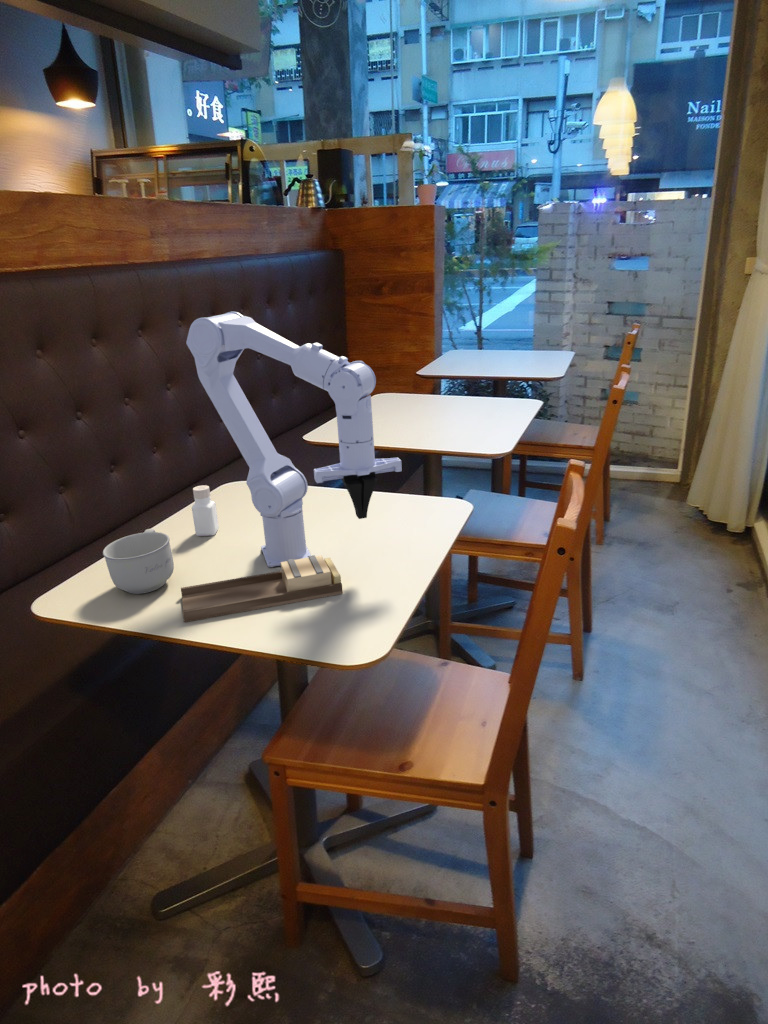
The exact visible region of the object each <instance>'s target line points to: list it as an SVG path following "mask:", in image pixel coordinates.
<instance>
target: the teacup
mask: <svg viewBox="0 0 768 1024" xmlns="http://www.w3.org/2000/svg"><path fill="white" fill-rule="evenodd" d="M102 555H103V557H104V559H105V562H106V566H107V570H108V573H109V576H110V578H111V579H110V580H111V582H112V583H113V584H114V586H115V587H116V588H118V589H120V590H122V591H125V592H127V593H129V594H132V595H133V594H134V595H141V594H147V593H150V592H153V591H155V590H158V589H161V588H162V587H163V586H164V585H165V584H166V583H167V581H168V580H169V579H170V578H171V577H172V575H173V573H174V568H175V566H174V565H175V564H174V562H175V561H174V557H173V556H174V555H173V552H172V546H171V543H170V537H169V535H168V534H166V533H163V532H160V531H159V532H157V531H156V530H155V529H153V528H147V529H145V530H144V532H139V533H134V534H130V535H127V536H124V537H121V538H119V539H116V540H114V541H112V542H110V543H109V544H107V545H106V546H105V547H104V549H103V551H102Z"/></svg>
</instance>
